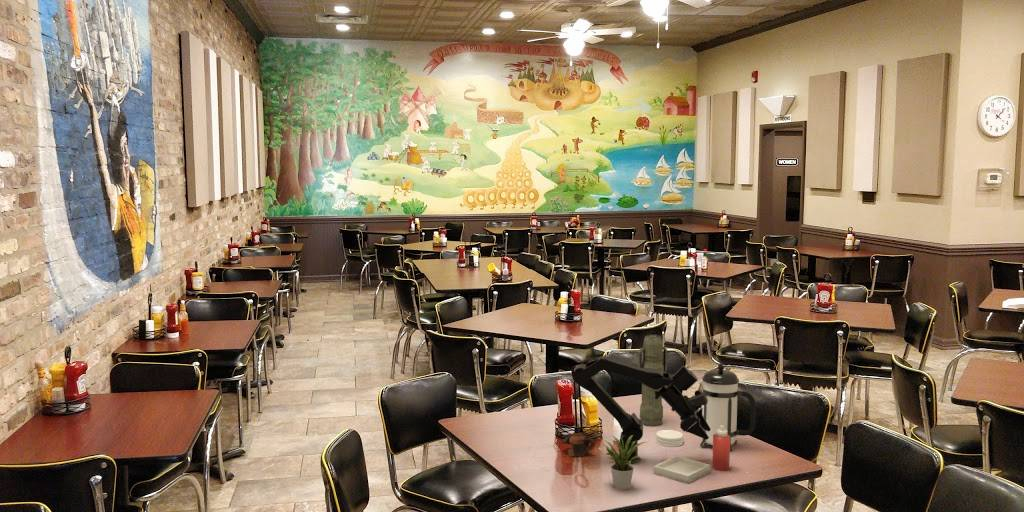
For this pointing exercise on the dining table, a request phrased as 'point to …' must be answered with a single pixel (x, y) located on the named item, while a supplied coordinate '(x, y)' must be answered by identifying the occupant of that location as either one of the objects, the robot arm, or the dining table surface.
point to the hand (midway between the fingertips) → (708, 434)
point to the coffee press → (724, 404)
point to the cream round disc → (669, 438)
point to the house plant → (622, 463)
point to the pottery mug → (578, 444)
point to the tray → (681, 469)
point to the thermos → (650, 406)
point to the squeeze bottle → (721, 450)
